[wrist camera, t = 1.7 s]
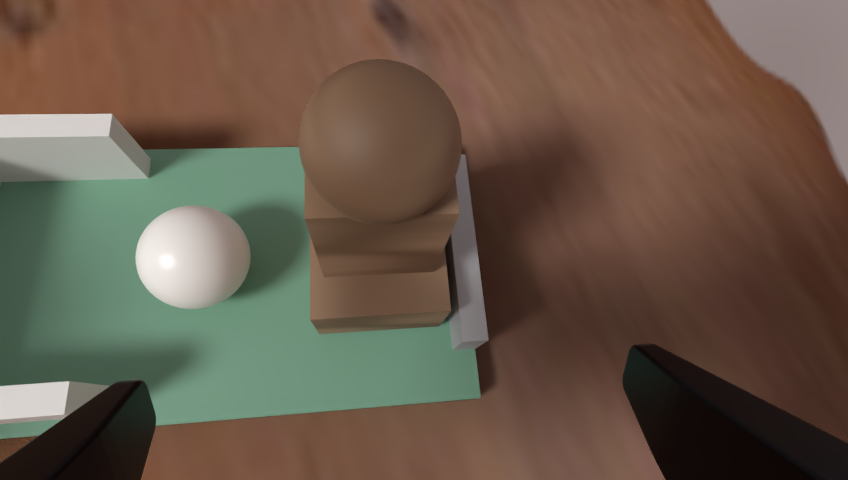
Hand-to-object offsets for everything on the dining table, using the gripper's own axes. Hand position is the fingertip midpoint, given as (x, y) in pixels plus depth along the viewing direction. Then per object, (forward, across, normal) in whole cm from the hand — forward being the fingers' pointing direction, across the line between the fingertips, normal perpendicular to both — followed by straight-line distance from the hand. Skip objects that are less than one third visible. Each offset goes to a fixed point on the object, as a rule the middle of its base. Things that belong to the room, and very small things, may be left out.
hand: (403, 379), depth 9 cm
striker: (+12, 0, +4) cm, 12 cm away
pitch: (+13, +7, +5) cm, 15 cm away
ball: (+10, +7, +2) cm, 13 cm away
